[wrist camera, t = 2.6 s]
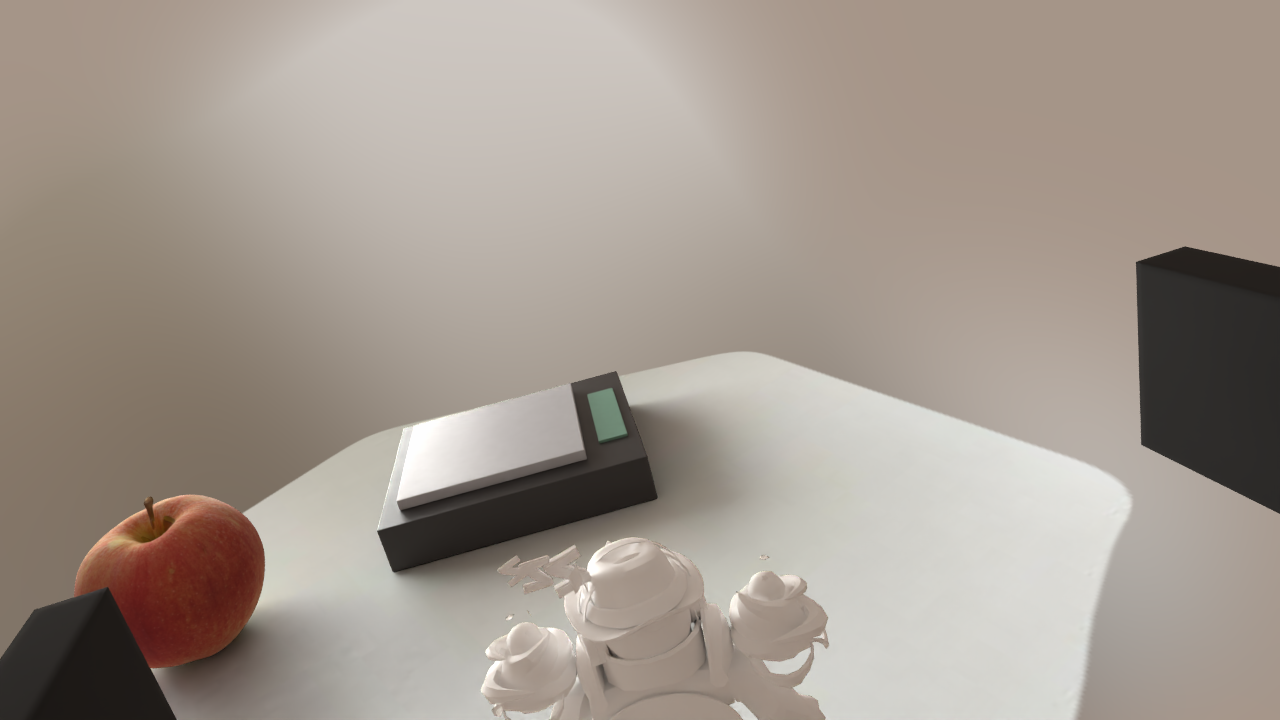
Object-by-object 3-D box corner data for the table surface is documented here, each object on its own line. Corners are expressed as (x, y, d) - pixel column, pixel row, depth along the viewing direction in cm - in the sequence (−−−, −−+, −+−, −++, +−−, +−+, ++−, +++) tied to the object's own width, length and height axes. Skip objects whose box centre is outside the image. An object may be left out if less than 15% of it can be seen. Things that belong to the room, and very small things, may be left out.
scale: (625, 405, 58) (614, 362, 57) (657, 498, 46) (644, 446, 45) (415, 462, 58) (400, 419, 57) (392, 572, 45) (372, 520, 44)
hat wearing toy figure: (558, 955, 24) (423, 598, 20) (565, 834, 28) (452, 509, 24) (884, 894, 24) (815, 514, 20) (848, 778, 28) (783, 437, 23)
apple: (321, 584, 46) (263, 448, 43) (222, 699, 39) (145, 544, 36) (195, 592, 48) (133, 463, 45) (80, 701, 41) (-2, 556, 38)
